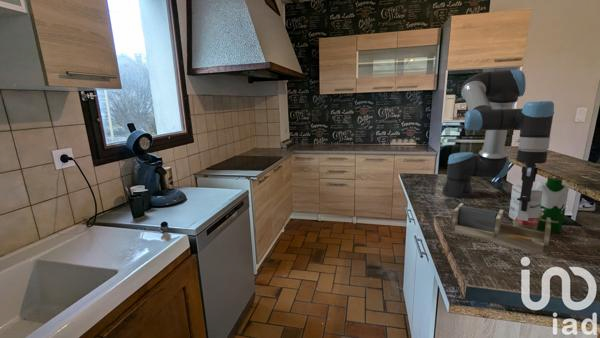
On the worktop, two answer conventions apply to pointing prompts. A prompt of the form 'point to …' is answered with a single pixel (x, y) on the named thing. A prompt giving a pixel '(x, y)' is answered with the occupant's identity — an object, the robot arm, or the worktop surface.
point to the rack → (498, 230)
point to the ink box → (534, 206)
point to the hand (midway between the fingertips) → (523, 215)
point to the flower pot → (527, 225)
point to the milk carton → (552, 203)
